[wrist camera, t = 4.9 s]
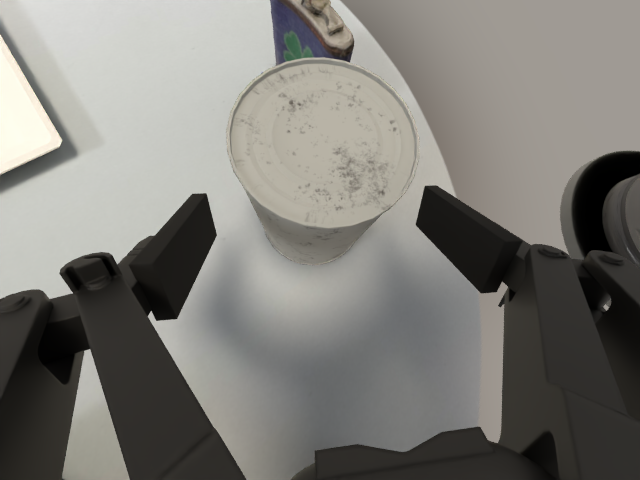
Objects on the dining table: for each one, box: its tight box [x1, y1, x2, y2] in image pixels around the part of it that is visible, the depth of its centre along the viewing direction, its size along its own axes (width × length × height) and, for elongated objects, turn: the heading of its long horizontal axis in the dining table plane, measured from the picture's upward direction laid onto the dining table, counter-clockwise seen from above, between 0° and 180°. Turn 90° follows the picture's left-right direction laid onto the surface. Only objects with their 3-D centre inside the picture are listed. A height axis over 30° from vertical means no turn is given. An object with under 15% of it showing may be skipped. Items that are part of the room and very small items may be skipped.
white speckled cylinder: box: [226, 57, 419, 265], centre depth 18 cm, size 10×10×12 cm
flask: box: [270, 0, 354, 66], centre depth 22 cm, size 9×3×11 cm, turn 40°
